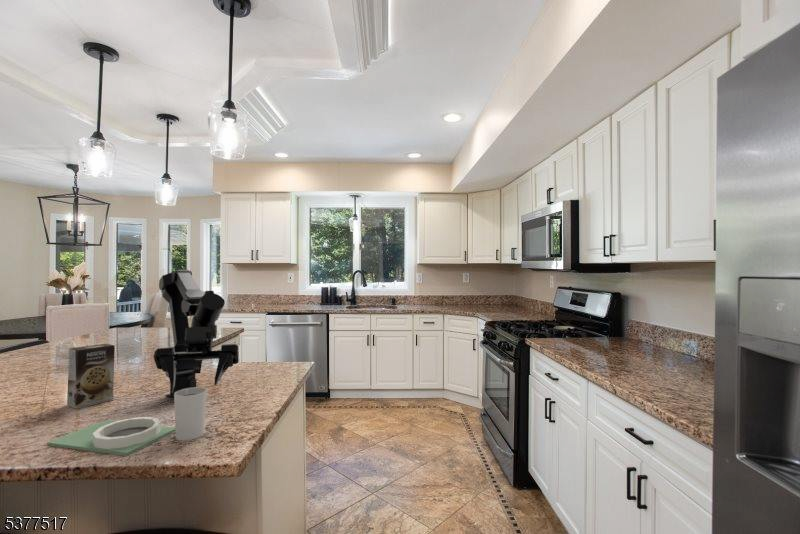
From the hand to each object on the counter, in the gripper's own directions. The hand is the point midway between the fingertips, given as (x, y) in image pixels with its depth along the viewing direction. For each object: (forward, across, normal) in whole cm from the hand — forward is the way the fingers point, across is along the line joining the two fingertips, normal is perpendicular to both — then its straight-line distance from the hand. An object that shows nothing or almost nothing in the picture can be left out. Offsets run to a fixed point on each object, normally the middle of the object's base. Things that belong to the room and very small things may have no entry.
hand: (194, 386), depth 91 cm
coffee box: (-14, -31, +29) cm, 45 cm away
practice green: (+7, -16, +8) cm, 19 cm away
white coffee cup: (+10, 0, +5) cm, 11 cm away
